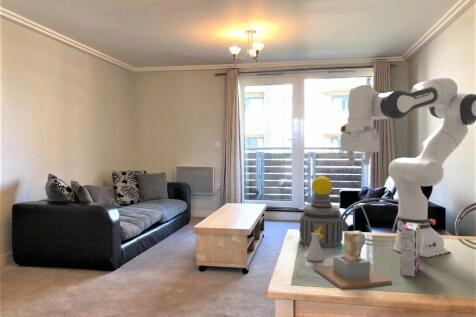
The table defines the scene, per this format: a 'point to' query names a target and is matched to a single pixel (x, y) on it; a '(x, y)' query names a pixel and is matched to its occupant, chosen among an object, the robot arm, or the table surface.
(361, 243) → the lightbulb
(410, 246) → the candy bar box
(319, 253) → the flask
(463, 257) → the table surface
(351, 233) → the wooden block
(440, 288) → the table surface
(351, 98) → the robot arm
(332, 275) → the square peg socket base
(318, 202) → the decorative lamp
